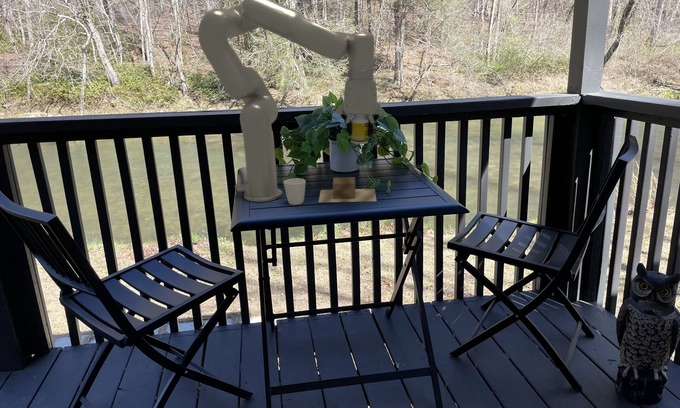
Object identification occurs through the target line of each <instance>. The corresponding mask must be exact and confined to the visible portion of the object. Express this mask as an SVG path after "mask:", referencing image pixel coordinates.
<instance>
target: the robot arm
mask: <svg viewBox="0 0 680 408" xmlns="http://www.w3.org/2000/svg"><path fill="white" fill-rule="evenodd" d="M259 28H262V29H263V30H264V31H265V30H266V31H268V32H270V33H273V34H275V35H276V36H279V37H281V38H284V40H285V39H286V40H288V41H290V43H291V42H292V43H293V44H296V45H298V46H300V47H303V48H305V49H306V50H309V51H310V52H313V53H315V54H318V55H319V56H323V57H325V58H326V59H329V60H336V59H340V58H343V57H348V70H346V71H343V77H346V78H348V79H346V80H345V83H344V91H343V101H342V103H341V104H339V106H338V107H337V108H336V110H335V113H336V114H337V115H338V116H339V117H340V118H342V119H343V120H344V122H345V123H346V134H348V136H349V137H351V121H352V116H353V115H354V114H364V115H367V116H368V120H369V125H368V137H371V135H372V134H374V123H375V122H376V121H377V120H378V119H379V118H380V117H381V116H383V114H385V110H384V109H383V107H382V106H381V104H380V103H379V102H378V88H377V81H376V80H374V71H375V70H374V69H375V68H374V67H375V64H374V63H375V36H374V34H373V33H370V32H353V33H350V32H342V31H335V30H331V29H329V28H327V27H325V26H323V25H320V24H318V23H316V22H314V21H312V20H310V19H308V18H307V17H305V15H304V14H302V13H301V12H299V11H297V10H295V9H293V8H291V7H289V6H286V5H285V4H281V3H279V2H277V1H275V0H243V1H242V3H240V4H238V5H235V6H233V7H230V8H218V7H217V8H213V9H211V10H208V11H207V12H206V13H205V14H204V15H203V17H202V18H201V20H200V22H199V26H198V29H197V31H198V33H197V38H198V42H199V43H198V44H199V45H200V48H201V50H202V52H203V54H204V55H205V57H206V59H207V60H208V62H209V64H210V65H211V67H212V69H213V71H214V73H215V74H216V76H217V77H218V79H219V81H220V83H221V85H222V87H223V88H224V90H225V91H226V93H227V94H228V96H229V97H230V98H232V99H233V100H236V101H237V100H238V101H240V100H241V101H242V102H243V104H244V105H243V107H242V108H241V111H240V114H239V122H240V127H241V133H242V138H243V146H244V156H245V158H244V159H245V168H246V178H247V179H246V181H247V183H244V184H235V185H234V190H235V191H237V193H239V192H240V193H241V192H244V193H243V197H244V199H245V200H246V201H249V202H253V203H254V202H259V203H262V202H271V201H275V200H278V199H280V198H281V197H282V196H283V191H282V190H281V189H279V188H278V180H277V169H276V168H277V165H276V152H275V151H276V150H275V140H274V133H273V128H272V124H273V123H274V122H275V121H276V120H277V118H278V114H279V108H278V104H277V103H276V100H275V99H274V97H273V95H272V94H271V91H270V90H269V88H268V87H267V85H266V83H265V82H264V79H263V78H262V77H261V75H260V74H259V73H258V72H257V71H256V69H254V68H252V67H249V66H245V65H244V64H243V63H242V61H241V59H240V57H239V56H238V54H237V51H235V50H234V48H233V47H232V45H231V44H230V43H229V40H228V38H229V39H230V38H236V37H239V36H242V35H244V34H247V33H248V32H252V31H253V30H256V29H259ZM342 110H343V111H342Z"/></svg>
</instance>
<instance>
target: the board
mask: <svg viewBox="0 0 680 408" xmlns="http://www.w3.org/2000/svg"><path fill="white" fill-rule="evenodd" d="M354 202H355V203H356V202H357V203H362V202H377V196H376V189H375V188H355V199H333V189H321V190H320V193H319V198H318V203H354Z"/></svg>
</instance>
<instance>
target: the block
mask: <svg viewBox="0 0 680 408" xmlns="http://www.w3.org/2000/svg"><path fill="white" fill-rule="evenodd" d="M332 180H333V181H332V190H333V199H355V189H356V177H352V176H351V177H349V176H346V177H333V179H332Z"/></svg>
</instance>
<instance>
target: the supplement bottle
mask: <svg viewBox="0 0 680 408" xmlns="http://www.w3.org/2000/svg"><path fill="white" fill-rule="evenodd" d="M353 116H354V117H353V118H351V136H350V143H352V144H355V145H364V144H368V142H369V136H368V125H369V120H370V119H369V118H367V116H368V115H364V114H353Z"/></svg>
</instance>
